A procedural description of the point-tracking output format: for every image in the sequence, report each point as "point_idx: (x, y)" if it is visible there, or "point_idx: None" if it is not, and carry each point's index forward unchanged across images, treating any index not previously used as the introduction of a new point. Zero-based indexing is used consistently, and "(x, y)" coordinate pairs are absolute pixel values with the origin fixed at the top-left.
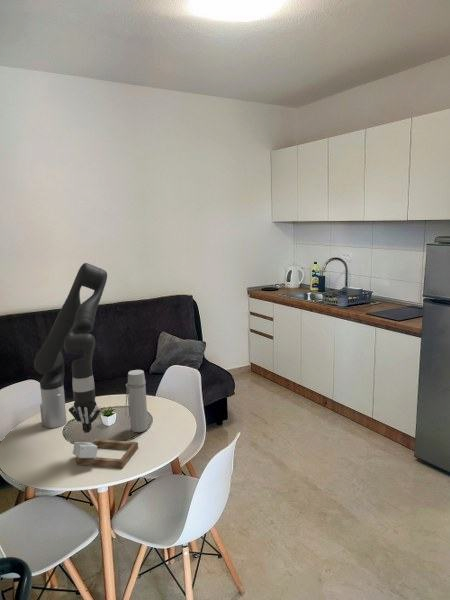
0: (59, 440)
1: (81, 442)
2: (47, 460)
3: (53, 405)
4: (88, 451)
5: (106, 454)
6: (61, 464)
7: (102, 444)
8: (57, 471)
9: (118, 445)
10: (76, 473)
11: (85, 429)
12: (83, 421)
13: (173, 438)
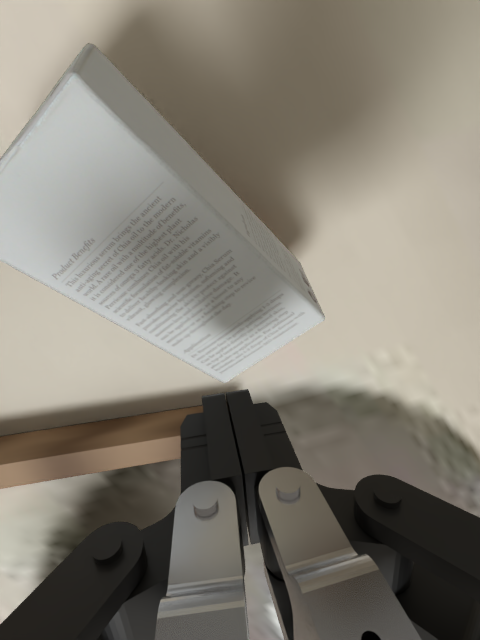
0: (471, 399)
1: (267, 336)
2: (443, 180)
3: None
4: (18, 135)
5: (91, 351)
6: (322, 154)
7: (172, 423)
8: (299, 49)
9: (49, 443)
10: (131, 52)
11: (232, 415)
12: (275, 501)
13: None
